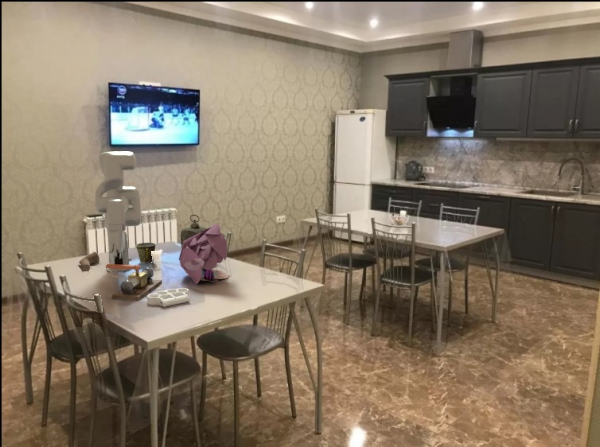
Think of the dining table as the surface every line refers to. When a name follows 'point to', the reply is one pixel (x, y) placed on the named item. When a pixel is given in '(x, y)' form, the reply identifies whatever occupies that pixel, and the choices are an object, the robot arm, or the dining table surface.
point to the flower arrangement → (204, 255)
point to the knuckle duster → (169, 297)
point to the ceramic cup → (145, 252)
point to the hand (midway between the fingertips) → (118, 266)
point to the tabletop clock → (191, 230)
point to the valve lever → (123, 266)
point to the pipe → (89, 260)
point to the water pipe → (136, 281)
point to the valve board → (138, 291)
